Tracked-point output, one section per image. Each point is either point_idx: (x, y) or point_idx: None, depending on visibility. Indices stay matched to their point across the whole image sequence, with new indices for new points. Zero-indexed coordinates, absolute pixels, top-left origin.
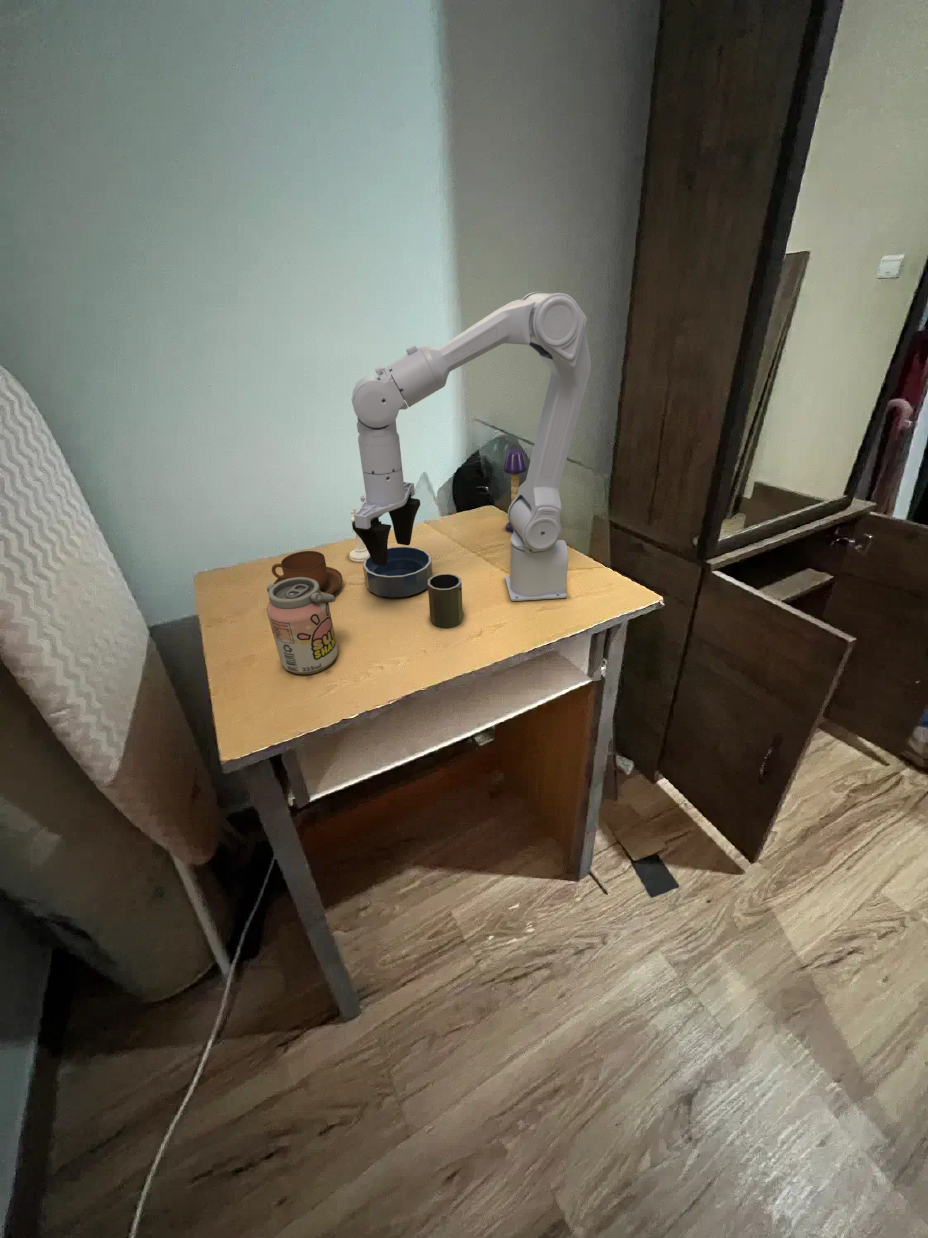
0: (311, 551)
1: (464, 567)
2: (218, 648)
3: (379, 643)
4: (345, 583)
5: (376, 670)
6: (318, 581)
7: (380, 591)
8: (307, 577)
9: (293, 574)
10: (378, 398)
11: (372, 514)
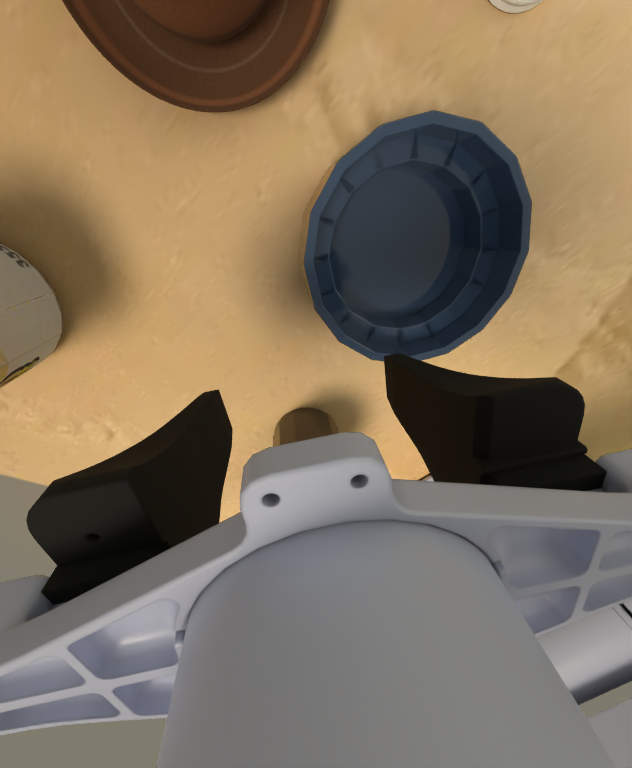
0: None
1: (518, 344)
2: None
3: (159, 384)
4: (316, 66)
5: (97, 433)
6: (180, 27)
7: (301, 265)
8: None
9: None
10: None
11: (70, 711)
